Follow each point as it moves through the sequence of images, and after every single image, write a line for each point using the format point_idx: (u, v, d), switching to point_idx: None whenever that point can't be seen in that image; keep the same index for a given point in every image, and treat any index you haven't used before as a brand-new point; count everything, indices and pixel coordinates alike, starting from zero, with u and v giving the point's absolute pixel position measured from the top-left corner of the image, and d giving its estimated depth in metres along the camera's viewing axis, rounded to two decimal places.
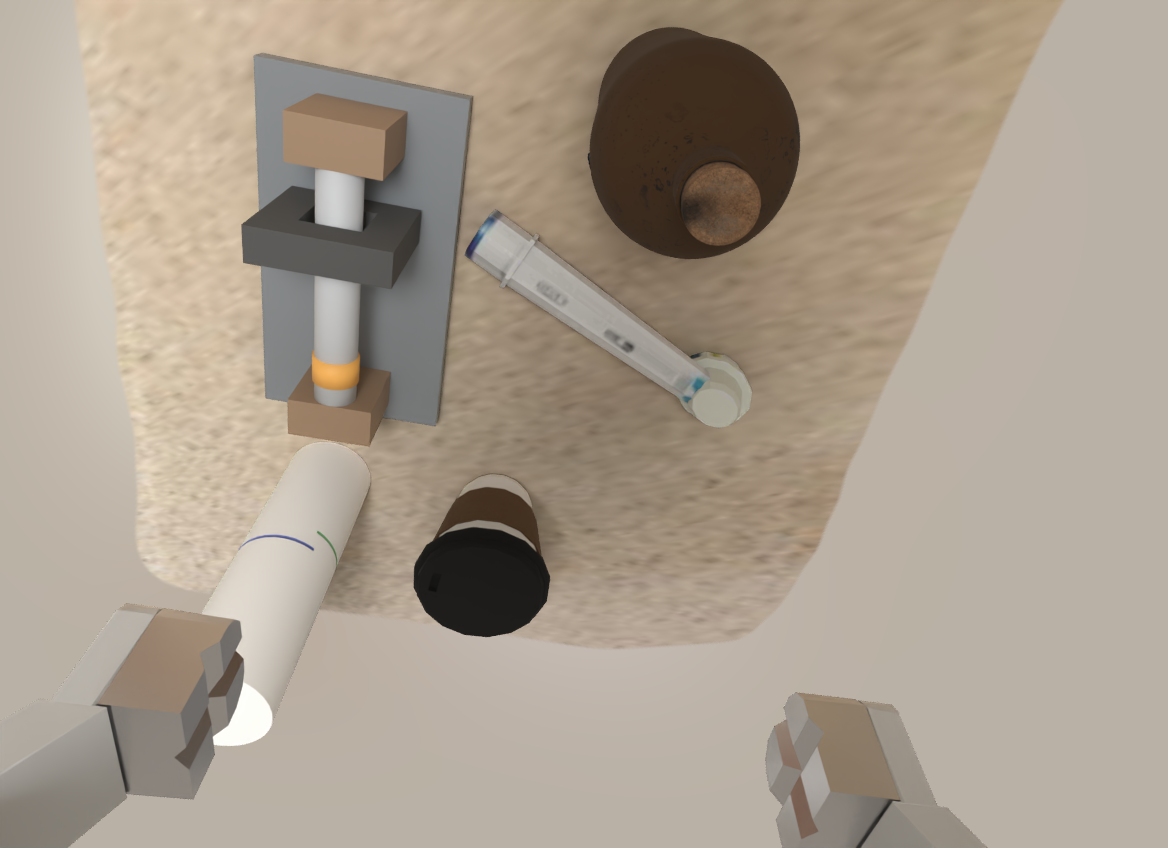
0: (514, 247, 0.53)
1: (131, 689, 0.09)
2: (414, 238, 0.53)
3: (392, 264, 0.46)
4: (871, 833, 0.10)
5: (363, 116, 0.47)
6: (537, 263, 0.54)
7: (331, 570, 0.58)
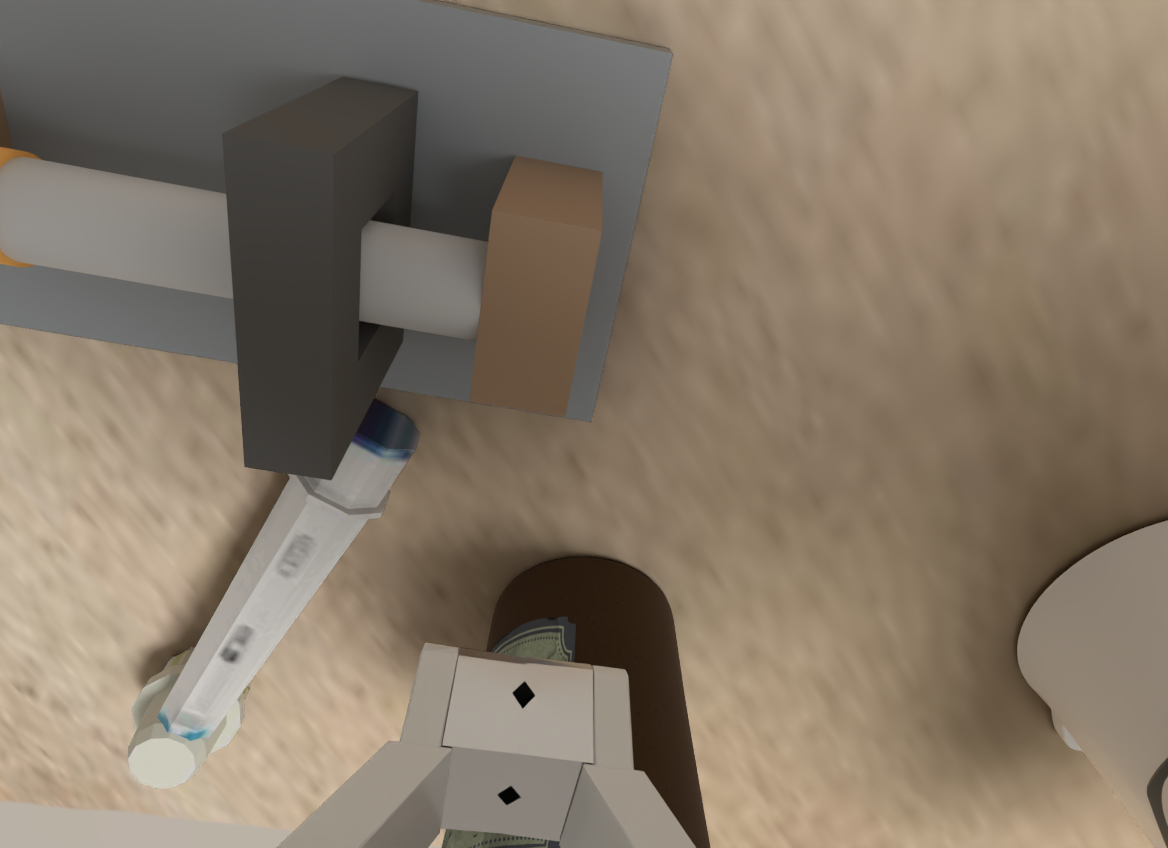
0: (364, 497, 0.31)
1: (467, 730, 0.09)
2: None
3: (303, 473, 0.21)
4: (573, 798, 0.10)
5: None
6: (343, 530, 0.32)
7: None
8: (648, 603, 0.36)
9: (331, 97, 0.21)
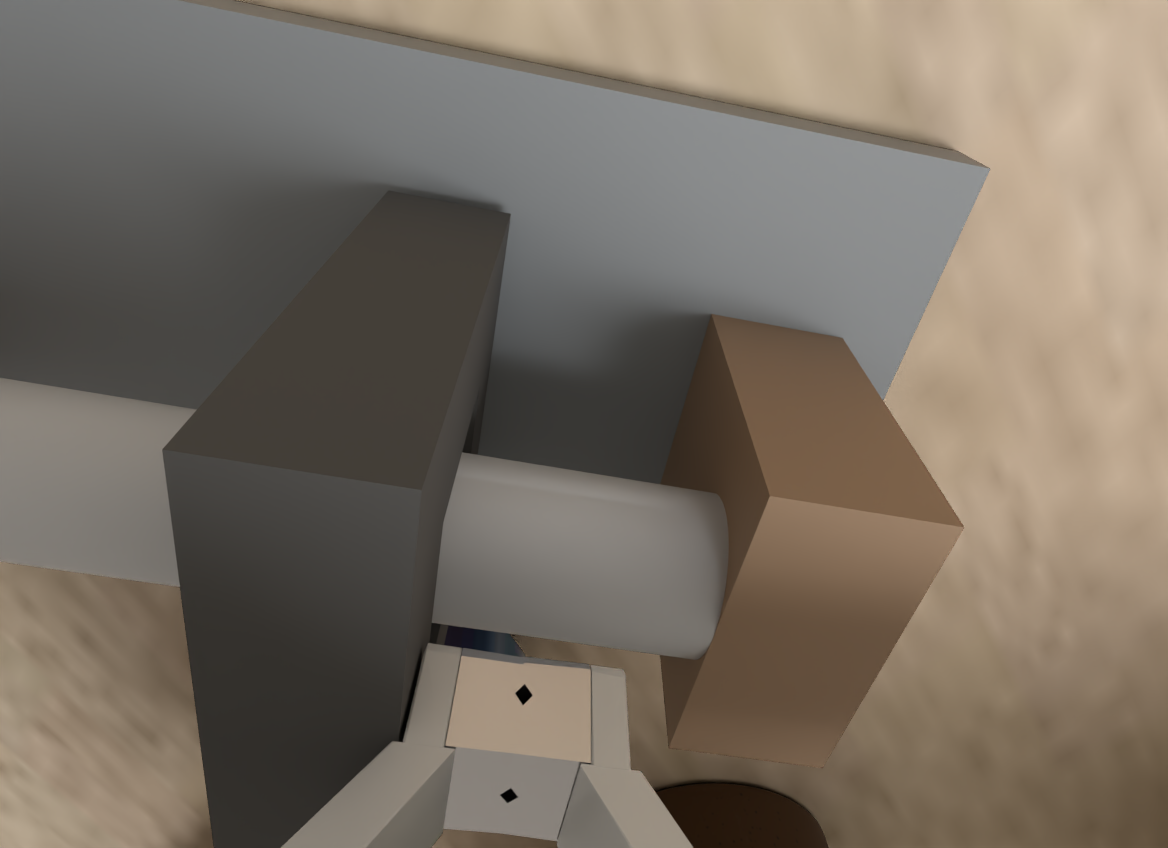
0: None
1: (469, 730, 0.09)
2: None
3: None
4: (570, 799, 0.10)
5: None
6: None
7: None
8: None
9: (380, 255, 0.12)
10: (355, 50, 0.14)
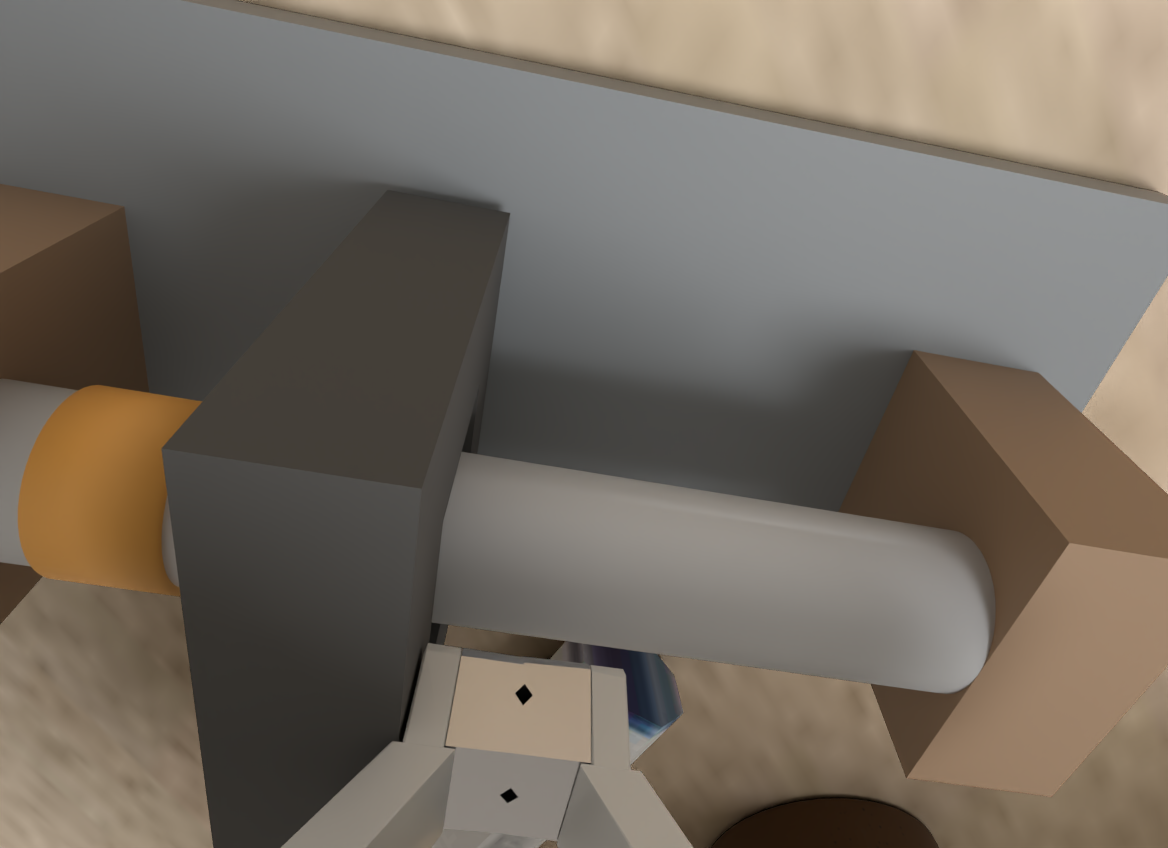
0: None
1: (469, 730, 0.09)
2: None
3: None
4: (571, 797, 0.10)
5: None
6: None
7: None
8: None
9: (379, 254, 0.12)
10: (605, 101, 0.14)
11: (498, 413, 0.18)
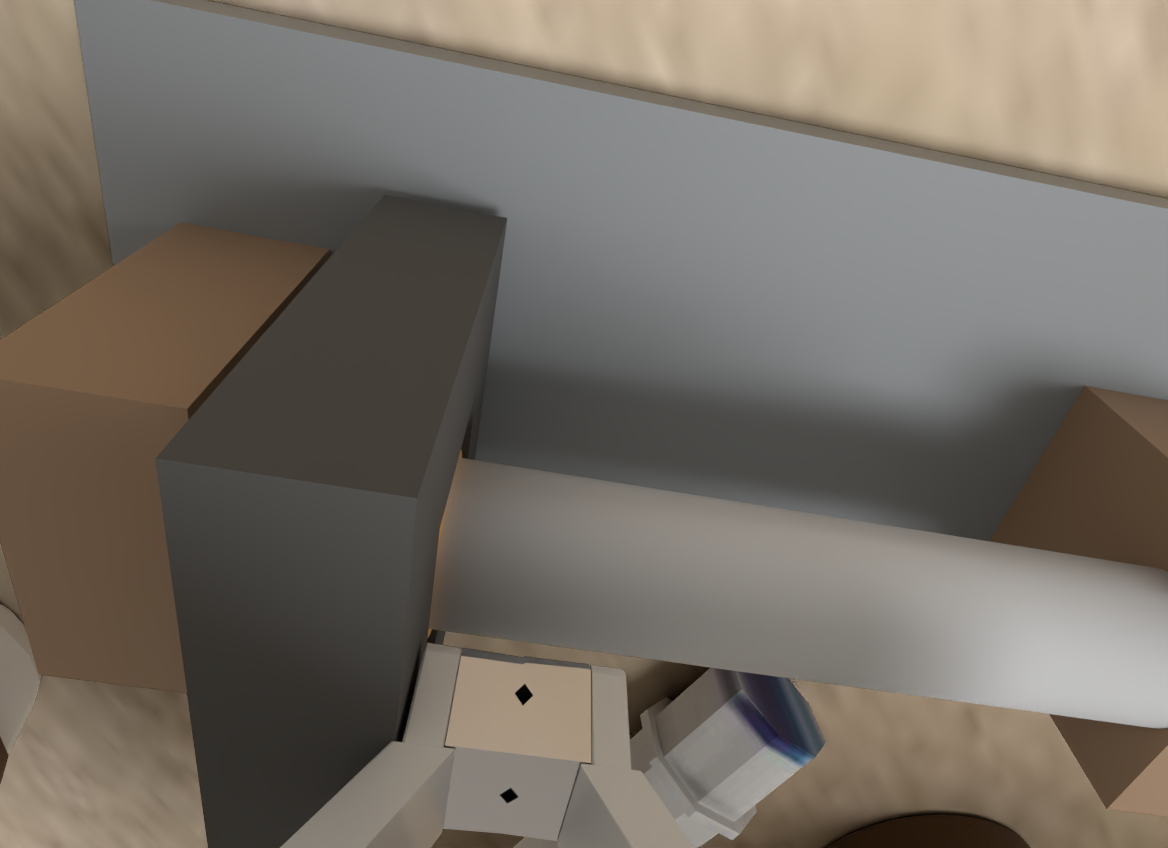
0: None
1: (469, 730, 0.09)
2: None
3: None
4: (571, 798, 0.10)
5: None
6: None
7: None
8: None
9: (376, 260, 0.12)
10: (815, 149, 0.15)
11: (668, 446, 0.18)
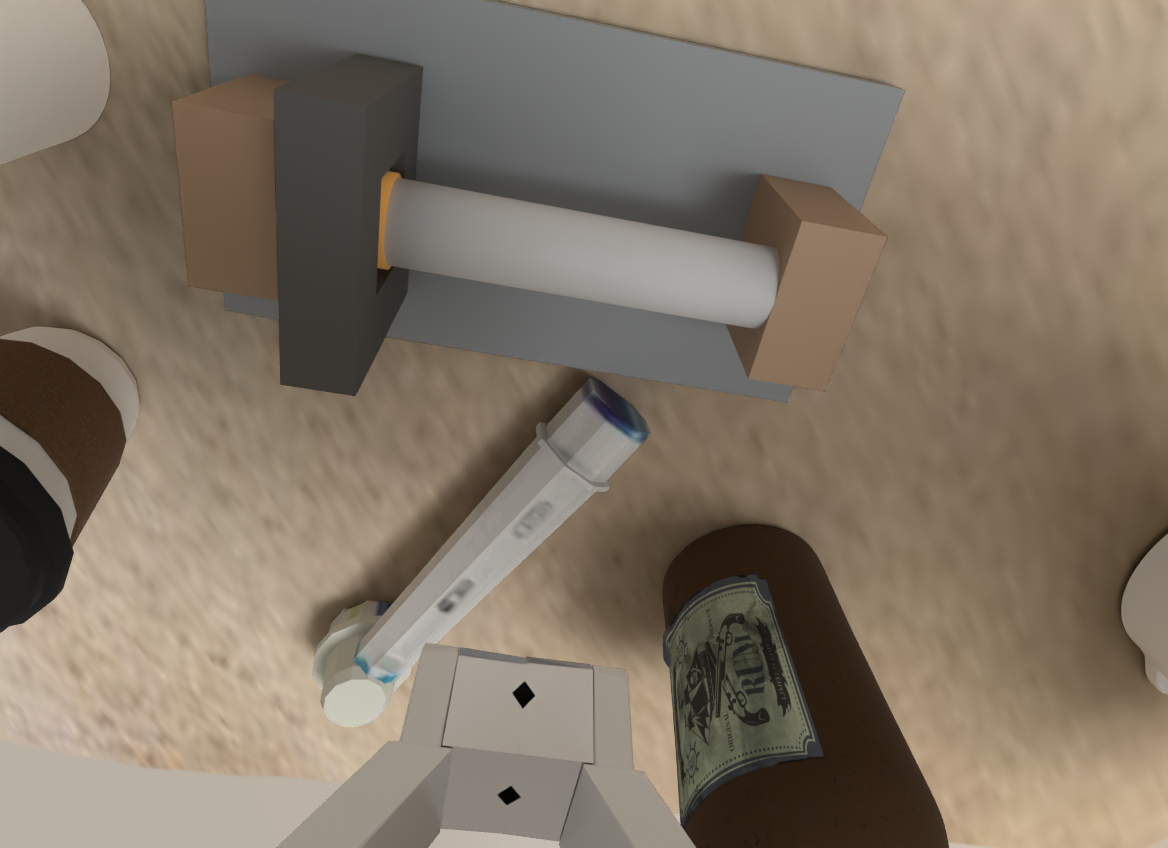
0: (604, 472, 0.36)
1: (466, 730, 0.09)
2: None
3: (331, 390, 0.25)
4: (573, 799, 0.10)
5: None
6: (577, 499, 0.36)
7: None
8: (814, 564, 0.41)
9: (352, 68, 0.25)
10: (588, 29, 0.28)
11: None
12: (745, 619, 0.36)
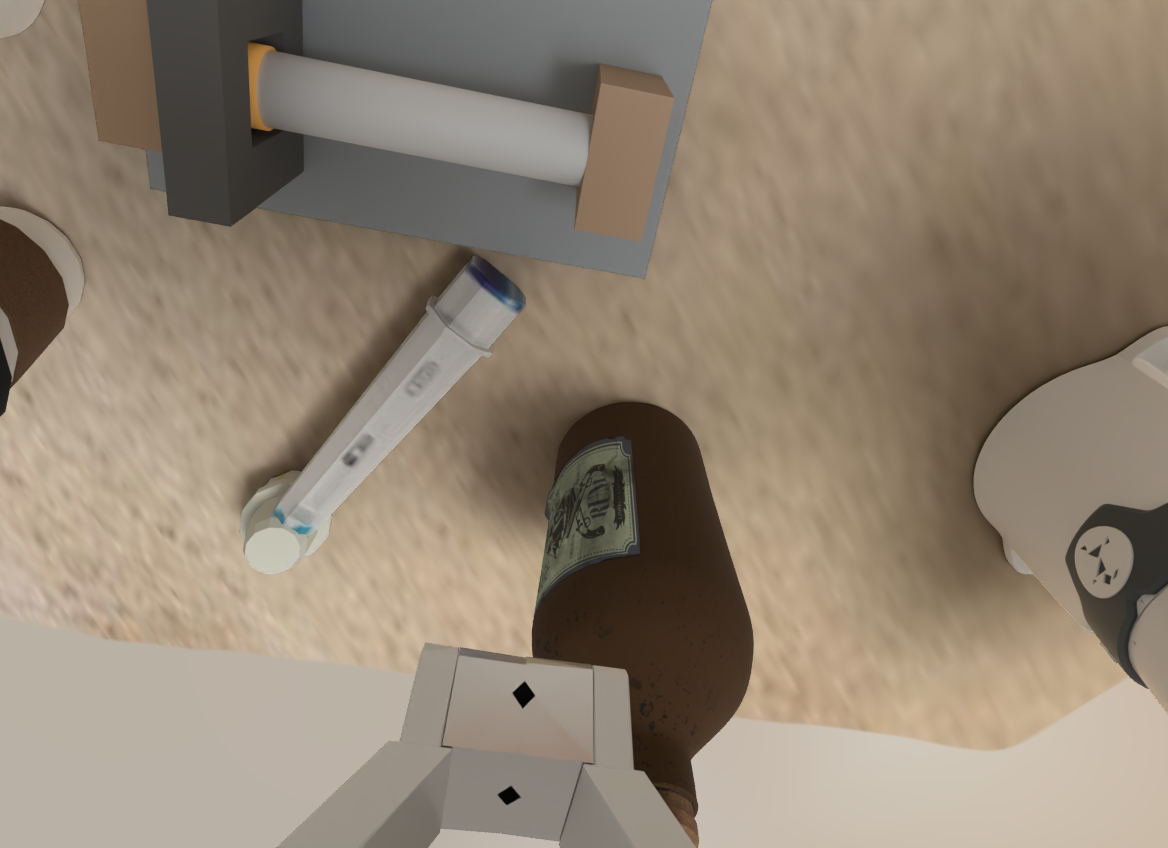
0: (483, 337, 0.41)
1: (466, 730, 0.09)
2: None
3: (211, 221, 0.30)
4: (573, 798, 0.10)
5: None
6: (461, 362, 0.42)
7: None
8: (683, 435, 0.46)
9: None
10: None
11: None
12: (605, 467, 0.41)
